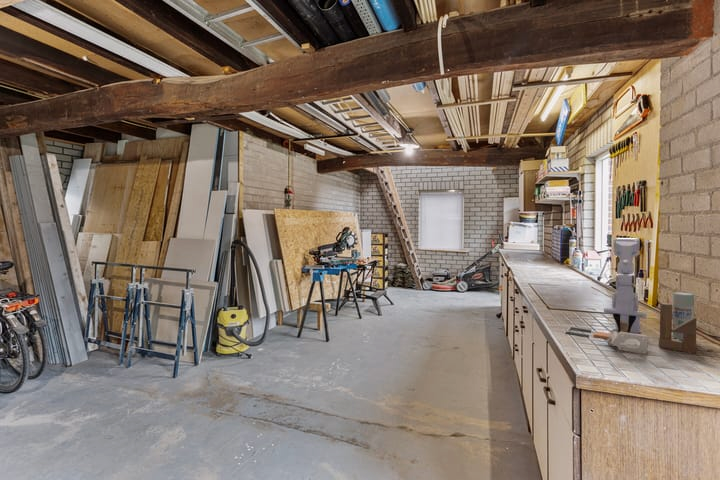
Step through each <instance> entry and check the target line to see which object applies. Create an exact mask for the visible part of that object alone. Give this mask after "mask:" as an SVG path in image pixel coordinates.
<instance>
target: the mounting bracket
mask: <svg viewBox="0 0 720 480" xmlns="http://www.w3.org/2000/svg"><path fill="white" fill-rule="evenodd" d="M606 340H607V341H606V343H607V344H608V345H609V346H614V347H617V350H619V351H624V352H628V353H629V352H631V353H636V354H646V353H647V349H648V348H647V347H648V340H649V337H648V336H647V335H646V334H642V333H639V334H638V333H632V332H630V333H627V332H618V330H613V332H612V333H611V336H610V338H609V339H606Z"/></svg>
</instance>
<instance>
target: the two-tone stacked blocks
mask: <svg viewBox="0 0 720 480" xmlns="http://www.w3.org/2000/svg"><path fill="white" fill-rule="evenodd" d="M620 332H627V333H628V322H624V321H620Z"/></svg>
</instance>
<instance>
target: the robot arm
mask: <svg viewBox="0 0 720 480" xmlns="http://www.w3.org/2000/svg"><path fill="white" fill-rule="evenodd" d="M640 244H641V241H640V238H639V237H635V238H632V237H628V238H627V237H615V238H613V253H614V256H617V257H618V258H619V262H618V263H617V269H616V270H617V271H616V272H617V274H615V287H616V288H615V289H616V291H615V292H613V293H612V300H611V308H606V307H605V308H603V314H605V315H606V314H610V315H612V318H613V319H614V326H613V331H617V332H618V333H619V332H620V321H624V322H628V333H634V334H640V330H641V327H642V326H641V325H640V323H641V318H642V319H645V320H646V319H647V313H646V312H640V311H639V296H638V295H637V293H635V292H634V287H635V286H636V276H635V272H634V271H635V266H634V263H633V262H632V261H633V260H634V258H635V257H638V256H639V253H640Z"/></svg>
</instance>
